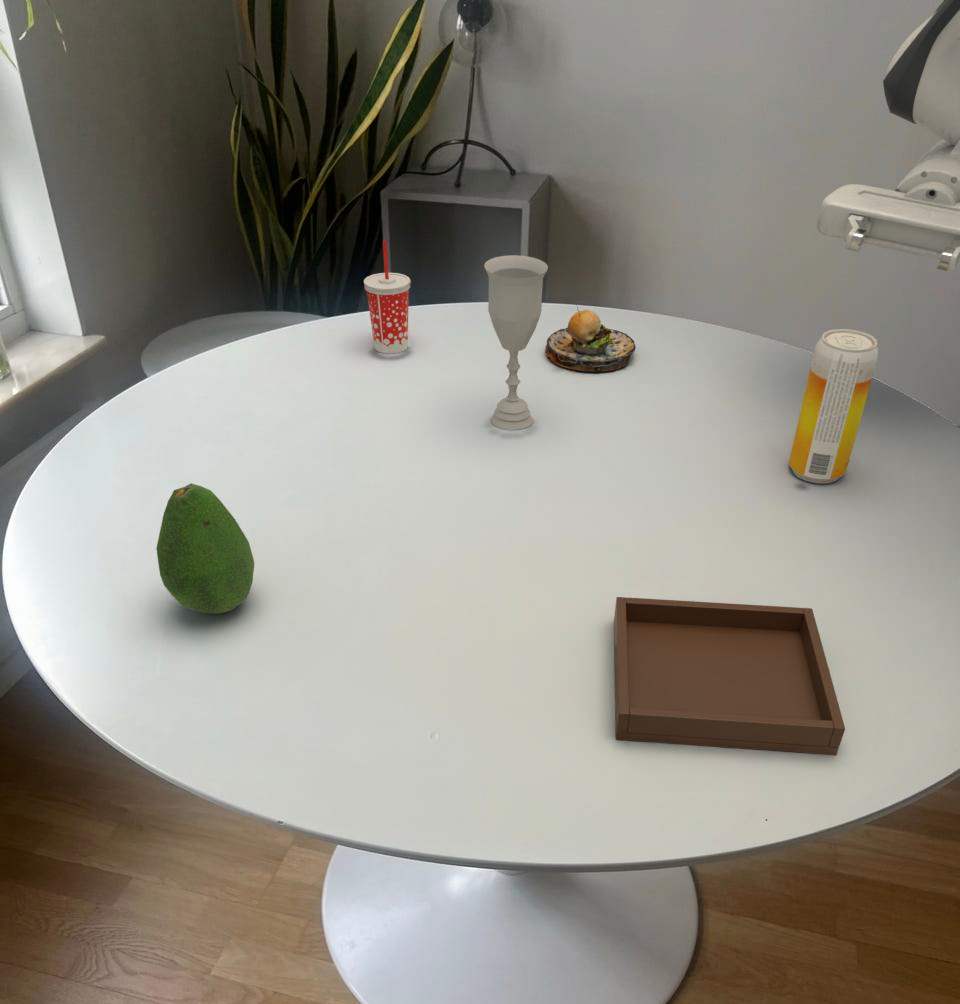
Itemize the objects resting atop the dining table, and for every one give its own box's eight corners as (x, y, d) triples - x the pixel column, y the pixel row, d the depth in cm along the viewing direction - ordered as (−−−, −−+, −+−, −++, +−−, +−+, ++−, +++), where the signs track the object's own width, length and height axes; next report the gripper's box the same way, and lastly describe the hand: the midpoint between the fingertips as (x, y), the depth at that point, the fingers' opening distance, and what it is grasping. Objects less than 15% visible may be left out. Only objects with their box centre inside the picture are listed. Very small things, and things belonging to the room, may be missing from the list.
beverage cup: (421, 342, 133) (417, 236, 124) (400, 358, 128) (394, 251, 120) (382, 335, 135) (375, 230, 126) (360, 351, 130) (351, 244, 121)
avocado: (217, 570, 91) (194, 457, 83) (278, 599, 88) (259, 484, 80) (151, 613, 86) (119, 496, 78) (212, 645, 83) (185, 527, 75)
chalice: (475, 410, 117) (475, 258, 105) (528, 403, 118) (533, 252, 107) (494, 438, 111) (497, 281, 100) (549, 429, 113) (558, 274, 102)
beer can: (841, 460, 107) (877, 329, 98) (847, 488, 103) (885, 353, 93) (785, 456, 108) (815, 325, 99) (789, 483, 104) (821, 349, 94)
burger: (646, 369, 126) (652, 312, 121) (559, 377, 124) (562, 320, 119) (616, 334, 135) (621, 280, 130) (535, 341, 133) (537, 286, 128)
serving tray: (805, 633, 84) (812, 608, 82) (836, 755, 73) (845, 728, 71) (613, 621, 85) (616, 596, 83) (615, 739, 74) (618, 713, 72)
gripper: (845, 160, 109) (806, 201, 100) (1039, 196, 101) (1015, 243, 93) (831, 217, 113) (793, 261, 105) (1015, 255, 106) (990, 305, 97)
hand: (899, 253), depth 99 cm, fingers open, 8 cm apart
